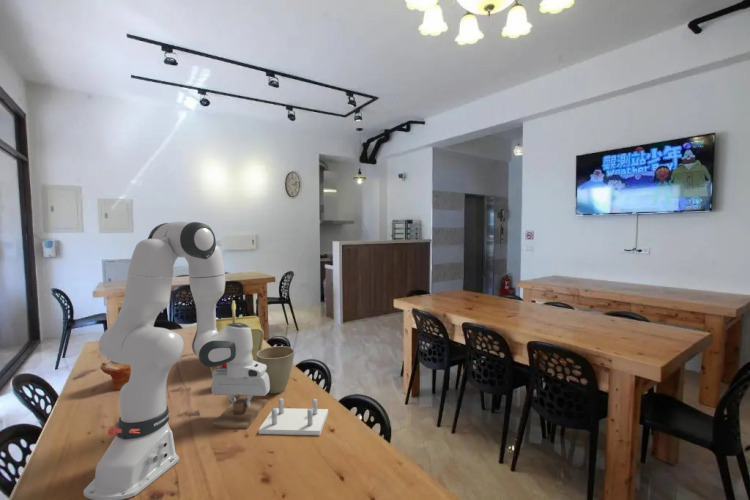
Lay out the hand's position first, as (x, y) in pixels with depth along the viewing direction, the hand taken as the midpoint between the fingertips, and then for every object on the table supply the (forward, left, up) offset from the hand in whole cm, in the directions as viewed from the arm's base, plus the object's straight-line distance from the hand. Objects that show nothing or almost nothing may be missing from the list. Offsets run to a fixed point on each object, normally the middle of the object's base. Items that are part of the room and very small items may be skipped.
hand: (241, 406), depth 129 cm
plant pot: (+20, -6, -3) cm, 21 cm away
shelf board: (0, 0, -3) cm, 3 cm away
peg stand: (-5, -21, -3) cm, 22 cm away
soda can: (+22, +16, -3) cm, 27 cm away
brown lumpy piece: (+26, +59, -3) cm, 65 cm away
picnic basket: (+47, +24, -3) cm, 53 cm away
